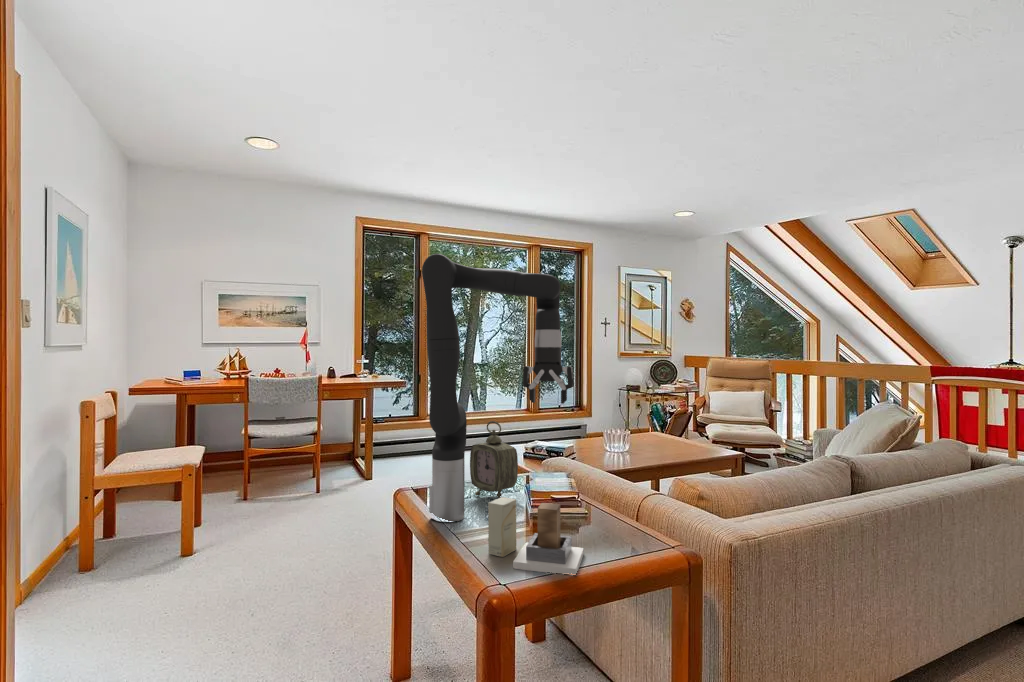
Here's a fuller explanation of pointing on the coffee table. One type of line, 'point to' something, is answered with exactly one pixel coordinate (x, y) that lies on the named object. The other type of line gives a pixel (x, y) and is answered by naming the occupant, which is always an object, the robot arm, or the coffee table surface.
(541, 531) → the walnut peg
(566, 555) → the mount board
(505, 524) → the skincare box
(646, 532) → the coffee table surface
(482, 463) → the tabletop clock
